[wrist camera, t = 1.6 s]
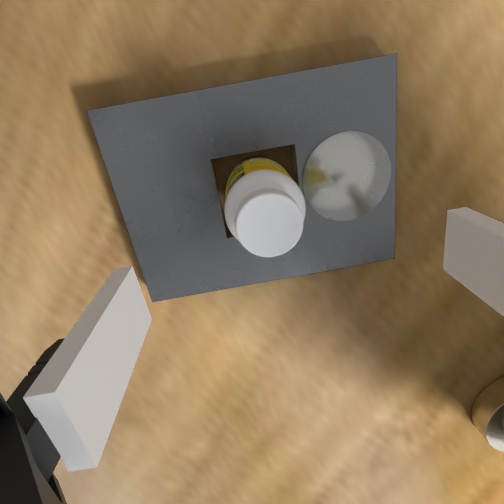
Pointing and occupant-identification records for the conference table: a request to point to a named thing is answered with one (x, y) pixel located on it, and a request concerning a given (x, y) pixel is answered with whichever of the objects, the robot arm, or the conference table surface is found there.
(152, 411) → the conference table surface
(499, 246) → the robot arm
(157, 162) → the housing plate
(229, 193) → the supplement bottle
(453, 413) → the conference table surface
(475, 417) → the lamp
